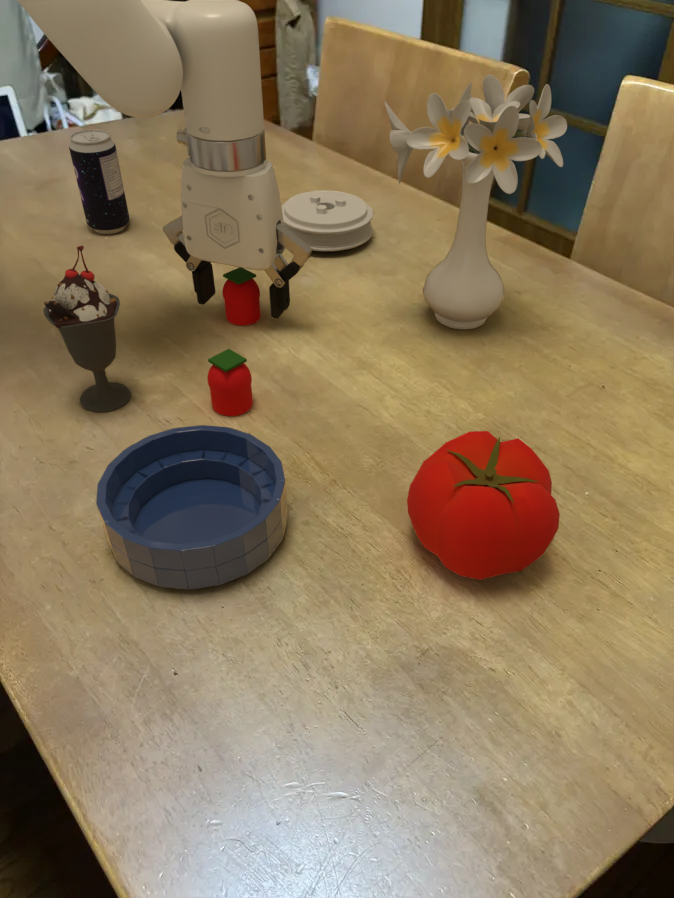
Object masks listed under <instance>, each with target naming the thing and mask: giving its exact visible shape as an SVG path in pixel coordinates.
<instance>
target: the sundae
mask: <svg viewBox="0 0 674 898" xmlns="http://www.w3.org/2000/svg"><path fill="white" fill-rule="evenodd" d="M84 249H85V246H84V245H78V246H76V250H77V259H76V261H75V263H74V265H73V267H72V268H68V269H66V270H65V271H64V277H63V278H62V279H61V280H60V281H59V282H58V284H57V285H56V287H55V289H54V290H55V291H54V296H53V297H51V299H50V300H48V301H43V304H44V307H43V315H44V317H45V318H46V320H47V321H48V322H49V323H50V324H51V325H53V326H54V327H55V328H56V329H57V330H58V332H59V334H60V337H61V338H62V340H63V342H64V345H65V346H66V350H67V351H68V353H69V355H70V357H71V359H72V360H73V361H74V364H75V365H77V366H78V367H79V368H81V369H83V370H86V371H90V372H91V373H92V374H93V378H94V384H93V385H91V386H89V387H87V388H86V389H84V390H83V391H82V393H81V394H80V396H79V404H80V405H81V407H83V408H84V409H86V410H87V411H91V412H95V413H106V412H111V411H115V410H117V409H120V408H121V407H123V406H125V405H126V404H127V403H128V402H129V401H130V399H131V397H132V392H131V389H130V387H128V386H127V385H125V384H124V383H121V382H117V381H109V380H108V377H107V374H106V373H107V372H106V369H107V368H109V366H111V365H112V363H113V362H114V360H115V359H116V356H117V336H116V327H115V326H116V325H115V324H116V323H115V319H116V317H117V314H118V313H119V310H120V306H121V302H120V298H119V296H117V295H115V294H112V293H109V290H107V289H106V287H105V286H103V285H102V284H101V283H99V282H98V281H96V280H95V277H96V276H95V273H94V272H92V271H91V270H89V269H88V267H87V264H86V261H85V259H84V255H83V251H84ZM80 256H81V260H82V263H83V266H84V270H82V271H81V272H80V273H79V271H78V270H76V267H77V265H78V263H79V259H80Z"/></svg>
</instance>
